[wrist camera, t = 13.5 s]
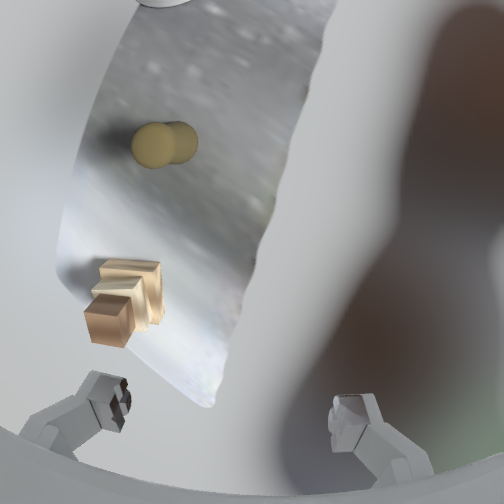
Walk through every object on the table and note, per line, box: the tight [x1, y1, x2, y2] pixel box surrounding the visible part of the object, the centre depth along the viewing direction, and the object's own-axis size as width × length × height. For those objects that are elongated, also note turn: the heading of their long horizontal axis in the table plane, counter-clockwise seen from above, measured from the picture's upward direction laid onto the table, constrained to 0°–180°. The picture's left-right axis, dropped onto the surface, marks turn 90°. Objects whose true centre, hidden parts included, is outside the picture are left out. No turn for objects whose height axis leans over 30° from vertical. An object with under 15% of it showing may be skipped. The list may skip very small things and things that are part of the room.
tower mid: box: [91, 276, 153, 332], centre depth 43 cm, size 7×7×4 cm
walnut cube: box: [84, 294, 136, 348], centre depth 39 cm, size 5×5×5 cm
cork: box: [131, 121, 198, 169], centre depth 35 cm, size 6×6×11 cm
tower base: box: [99, 259, 165, 325], centre depth 47 cm, size 9×9×4 cm
